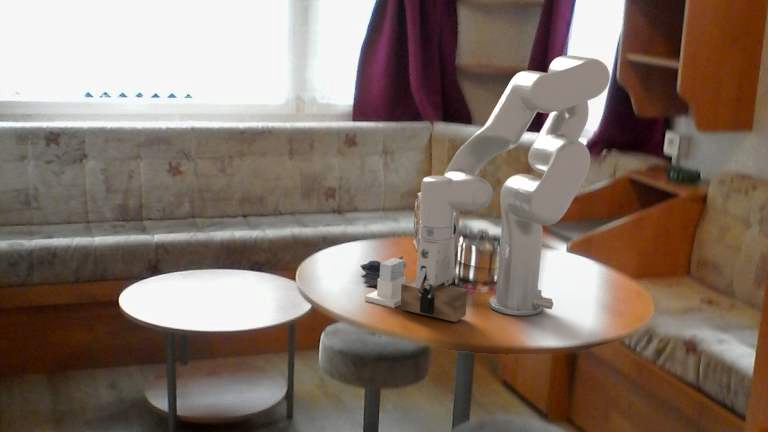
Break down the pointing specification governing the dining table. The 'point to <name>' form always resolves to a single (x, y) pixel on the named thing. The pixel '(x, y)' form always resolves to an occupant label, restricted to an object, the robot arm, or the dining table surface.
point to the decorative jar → (417, 223)
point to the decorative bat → (372, 272)
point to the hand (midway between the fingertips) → (432, 308)
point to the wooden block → (436, 300)
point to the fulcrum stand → (389, 284)
